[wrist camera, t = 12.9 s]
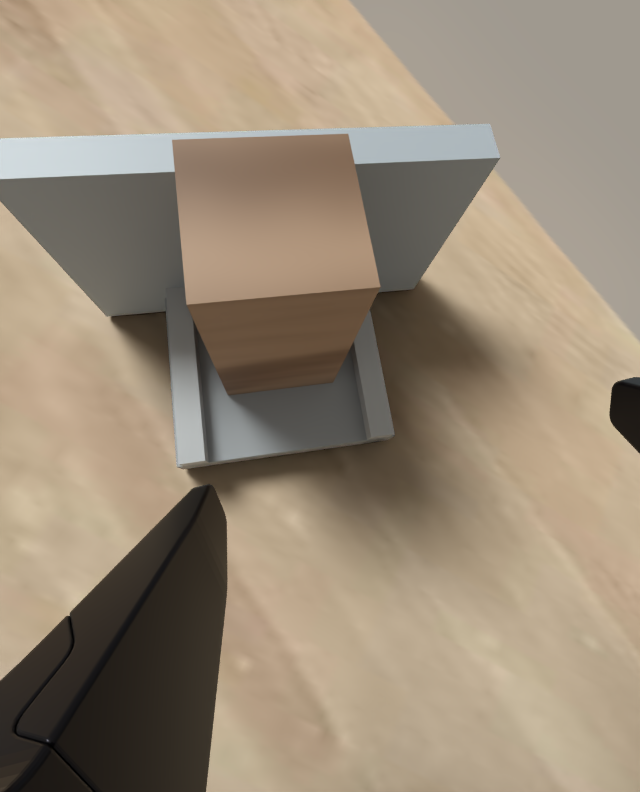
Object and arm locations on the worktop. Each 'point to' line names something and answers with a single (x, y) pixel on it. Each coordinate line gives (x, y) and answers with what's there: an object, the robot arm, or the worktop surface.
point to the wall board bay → (164, 277)
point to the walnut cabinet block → (274, 255)
